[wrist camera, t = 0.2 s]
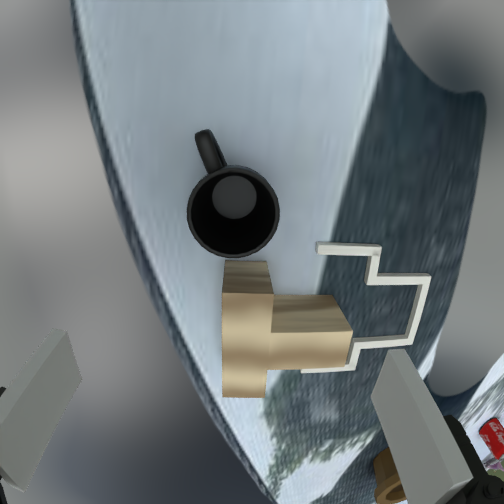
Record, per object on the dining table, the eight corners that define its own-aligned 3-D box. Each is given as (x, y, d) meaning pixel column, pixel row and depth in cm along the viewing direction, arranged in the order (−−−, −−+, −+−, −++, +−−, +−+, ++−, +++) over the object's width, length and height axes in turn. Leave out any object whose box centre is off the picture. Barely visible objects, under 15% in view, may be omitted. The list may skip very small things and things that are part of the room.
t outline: (316, 241, 39) (318, 244, 38) (432, 246, 40) (437, 249, 39) (299, 368, 45) (301, 373, 44) (402, 360, 46) (405, 364, 45)
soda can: (474, 431, 57) (494, 462, 46) (491, 414, 56) (513, 444, 45) (482, 434, 59) (501, 463, 47) (498, 418, 57) (519, 446, 46)
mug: (246, 121, 34) (248, 113, 25) (278, 218, 38) (291, 242, 29) (178, 145, 35) (157, 146, 26) (213, 240, 39) (205, 270, 30)
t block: (225, 260, 40) (221, 292, 31) (336, 263, 40) (360, 294, 32) (224, 353, 44) (222, 397, 35) (322, 352, 45) (337, 394, 36)
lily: (484, 453, 65) (484, 479, 59) (515, 444, 60) (516, 470, 54) (479, 457, 72) (478, 481, 66) (507, 450, 67) (507, 474, 60)
